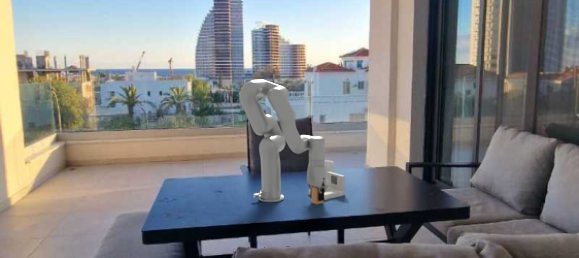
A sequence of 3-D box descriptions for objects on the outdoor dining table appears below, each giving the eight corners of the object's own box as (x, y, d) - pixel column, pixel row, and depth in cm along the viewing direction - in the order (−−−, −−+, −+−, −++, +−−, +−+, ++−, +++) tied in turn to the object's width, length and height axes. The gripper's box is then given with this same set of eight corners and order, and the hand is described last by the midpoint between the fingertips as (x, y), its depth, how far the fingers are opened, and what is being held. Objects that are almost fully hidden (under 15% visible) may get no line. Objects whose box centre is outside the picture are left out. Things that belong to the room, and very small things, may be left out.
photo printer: (333, 180, 254) (333, 159, 253) (335, 182, 250) (335, 160, 248) (315, 181, 253) (315, 160, 251) (317, 183, 249) (317, 161, 247)
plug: (316, 204, 211) (316, 184, 209) (311, 202, 214) (311, 182, 213) (323, 202, 213) (323, 182, 212) (317, 200, 216) (317, 181, 215)
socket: (323, 200, 217) (323, 180, 216) (308, 194, 227) (308, 175, 226) (344, 195, 225) (345, 175, 224) (329, 189, 235) (329, 171, 234)
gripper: (299, 160, 216) (300, 196, 218) (322, 166, 202) (322, 205, 204) (312, 158, 220) (312, 193, 222) (334, 164, 206) (334, 201, 209)
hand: (317, 198), depth 213 cm, fingers open, 5 cm apart
